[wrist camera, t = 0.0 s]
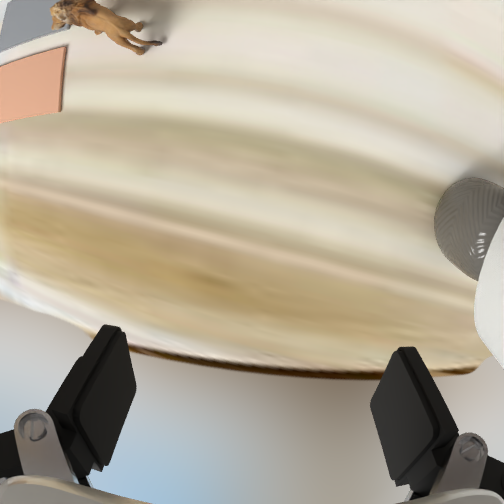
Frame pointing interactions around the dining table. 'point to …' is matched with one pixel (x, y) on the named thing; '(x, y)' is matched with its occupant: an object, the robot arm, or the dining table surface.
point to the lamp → (477, 250)
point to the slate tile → (27, 22)
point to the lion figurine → (98, 22)
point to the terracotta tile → (32, 85)
